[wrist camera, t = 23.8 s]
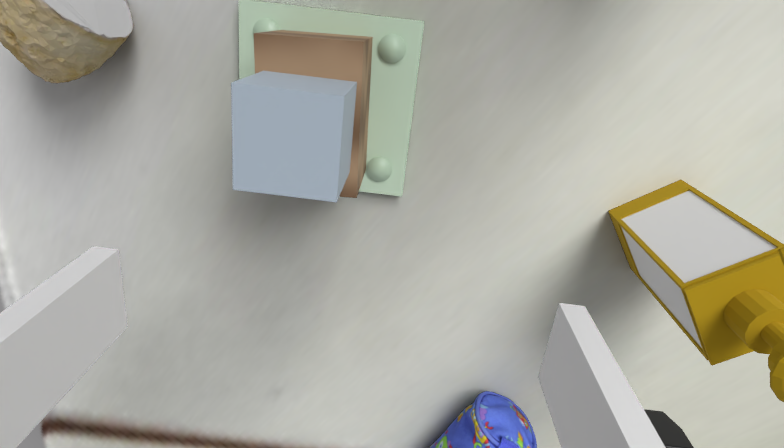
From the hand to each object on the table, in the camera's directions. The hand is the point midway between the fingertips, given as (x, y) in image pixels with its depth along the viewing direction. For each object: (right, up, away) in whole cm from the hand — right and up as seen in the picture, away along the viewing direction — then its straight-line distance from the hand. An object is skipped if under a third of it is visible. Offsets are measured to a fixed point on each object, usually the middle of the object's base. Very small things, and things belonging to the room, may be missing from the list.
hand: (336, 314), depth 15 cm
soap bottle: (+27, +5, +34) cm, 44 cm away
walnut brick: (-4, +14, +31) cm, 34 cm away
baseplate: (-4, +14, +32) cm, 35 cm away
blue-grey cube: (-5, +11, +24) cm, 26 cm away
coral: (-26, +22, +30) cm, 45 cm away
